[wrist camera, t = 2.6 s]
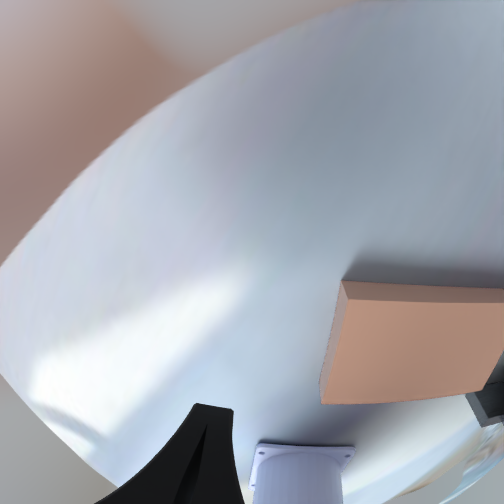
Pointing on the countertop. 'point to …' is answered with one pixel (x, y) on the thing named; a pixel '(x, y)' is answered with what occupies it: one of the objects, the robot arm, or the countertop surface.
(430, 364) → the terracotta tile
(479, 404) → the low gray notched block
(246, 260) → the countertop surface
